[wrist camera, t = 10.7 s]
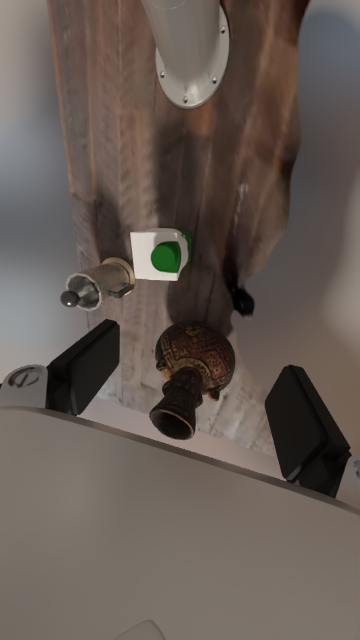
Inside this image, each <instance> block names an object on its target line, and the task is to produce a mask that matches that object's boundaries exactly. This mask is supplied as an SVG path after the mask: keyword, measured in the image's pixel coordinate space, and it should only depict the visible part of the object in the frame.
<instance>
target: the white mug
mask: <svg viewBox="0 0 360 640" xmlns="http://www.w3.org/2000/svg"><path fill="white" fill-rule="evenodd" d="M92 286H96V287H97V289H95V290H93V291H91V292H89V293H87V294H85V295H83V296H81V297H80V302H79V304H78V305H77V306H78V307H79V308H80V309H83V310H87V311H91V310H95V309H98V308H99V307H101V306H102V305H104V304H105V303H107V302H108V301H110V300H112V299H113V298H115V297H116V298H121V297H122V296H124V295H125V294H127V293H128V292H129V291H131V290H132V289H134V284H130V275H129V272H128V271H127V269H126V268H125V267H124V266H123V265H121V264H119V263H116V262H112V263H107V264H104V265H101V266H97V267H94V268H91V269H87V270H84V271H81V272H77V273H75V274H73V275H71V276H69V277H68V280H67V282H66V291H67V290H72V291H75V292H77V293H79V292H81V291H83V290H86V289H88V288H90V287H92Z"/></svg>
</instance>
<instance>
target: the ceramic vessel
mask: <svg viewBox="0 0 360 640" xmlns="http://www.w3.org/2000/svg"><path fill="white" fill-rule="evenodd" d="M155 358H156V363H157V364H156V368H157V370H158V371H161V373H162V374H163V376H164V377H165V378H166V379H167V380H168V381H167V382H166V383H165V384H164V385H163V387H162V391H163V394H164V395H165V397H164V398H163V399H162V400H161V401H160V402H159V403H158V404H157V405H156V406H155V407H154V408H153V409H152V410H151V412H150V414H149V417H150V419H151V421H152V423H153V424H154V426H155V427H156V428H157V429H158V430H159V431H160V432H161V433H162V434H164V435H166V436H167V437H170V438H173V439H177V440H187V439H190V438H191V437H192V436H193V435H194V433H195V426H196V418H195V409H196V408H197V407H199V406H200V405H201V404H202V403H203V399H202V395H208V396H209V398H210V399H212V400H213V401H218V400H219V395H220V391H221V390H222V389H224V388H225V387H226V386H227V385H228V384H229V383H230V381H231V379H232V376H233V373H234V369H235V354H234V350H233V348H232V345H231V343H230V342H229V340H228V339H227V338H226V337H225V336H224V335H223V334H222V333H221V332H220V331H219V330H217V329H216V328H214V327H212V326H210V325H208V324H206V323H203V322H198V321H182V322H179V323H176V324H174V325H172V326H170V327H169V328H167V329H166V330H165V331H164V332H163V333H162V335H161V336H160V338H159V340H158V342H157V344H156V349H155Z"/></svg>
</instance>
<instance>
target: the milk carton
mask: <svg viewBox="0 0 360 640" xmlns="http://www.w3.org/2000/svg"><path fill="white" fill-rule="evenodd" d="M130 234H131V244H132V253H133V263H134V272H135V278H140V279H148V280H173V281H177V280H178V277H179V275H180V272H181V270H182V268H183V267H184V266H186V265H187V264H189V263H190V259H191V233H190V232H187V231H184V230H181V229H173V228H150V229H148V230H143V231H137V232H130Z"/></svg>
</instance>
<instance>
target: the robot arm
mask: <svg viewBox="0 0 360 640" xmlns="http://www.w3.org/2000/svg"><path fill="white" fill-rule="evenodd" d="M141 2H142V5H143V7H144V10H145V13H146V16H147V19H148V22H149V25H150V28H151V31H152V33H153V36H154V39H155V42H156V68H157V74H158V78H159V81H160V84H161V87H162V89H163V91H164V93H165V95H166V96H167V97H168V99H169V100H170V101H171V102H172V103H173V104H175V105H176V106H178V107H180V108H185V109H192V108H196V107H199V106H201V105H202V104H204V103H205V102H206V101H208V100H209V99H210V98H211V97H212V95H213V94H214V93H215V91H216V90H217V88H218V87H219V85H220V83H221V81H222V78H223V76H224V73H225V70H226V66H227V62H228V55H229V29H228V24H227V19H226V16H225V14H224V11H223V9H222V7H221V6H220V4H219V0H141ZM222 33H224V34H222ZM163 77H164V78H163ZM214 82H216V84H214ZM186 101H187V103H185V102H186ZM119 353H120V326H119V324H117V322H116V321H113V320H109V319H106V320H104V321H103V322H102V323H100V324H99V325H98V326H96V327H95V328H94V329H93V330H91V331H90V332H89V333H88V334H86V335H85V336H84V337H82V338H81V339H80V340H79V341H77V342H76V343H75V344H73V345H72V346H71V347H70V348H68V349H67V350H66V351H65V352H63V353H62V354H61V355H59V356H58V357H57V358H56V359H54V360H53V361H52V362H51V363H50V364H49V365H48V366H47V367H44V366H42V365H27V366H24V367H20V368H18V369H16V370H14V371H12V372H11V373H9V374H8V375H7V376H6V377H5V379H4V381H3V383H2V384H0V640H360V456H352V455H351V453H350V452H349V449H350V446H349V444H348V443H347V441H346V439H345V438H344V436H343V434H342V432H341V431H340V429H339V427H338V426H337V424H336V422H335V421H334V419H333V417H332V416H331V414H330V412H329V411H328V409H327V407H326V406H325V404H324V402H323V401H322V399H321V397H320V396H319V394H318V392H317V391H316V389H315V387H314V386H313V384H312V382H311V381H310V379H309V377H308V375H307V374H306V372H305V371H304V369H303V368H302V367H298V366H294V365H289V366H285V367H284V368H283V370H282V372H281V373H280V375H279V377H278V379H277V380H276V382H275V384H274V386H273V388H272V390H271V391H270V393H269V395H268V396H267V398H266V400H265V409H266V413H267V417H268V421H269V425H270V429H271V433H272V437H273V441H274V445H275V449H276V453H277V457H278V461H279V465H280V469H281V473H282V476H283V477H284V478H285V479H286V480H287V482H286V481H283V480H280V479H277V478H274V477H271V476H268V475H265V474H261V473H258V472H255V471H252V470H249V469H246V468H242V467H239V466H236V465H233V464H230V463H227V462H223V461H220V460H217V459H214V458H211V457H208V456H204V455H201V454H198V453H195V452H191V451H188V450H185V449H182V448H179V447H175V446H172V445H169V444H165V443H162V442H159V441H156V440H153V439H150V438H146V437H143V436H140V435H136V434H133V433H130V432H126V431H123V430H120V429H117V428H113V427H110V426H107V425H104V424H100V423H97V422H94V421H90V420H87V419H83V418H79V417H76V416H77V415H80V414H81V413H82V412H83V411H84V410H85V408H86V407H87V406H88V404H89V403H90V402H91V400H92V399H93V398H94V396H95V395H96V394H97V392H98V391H99V390H100V388H101V387H102V386H103V385H104V383H105V382H106V381H107V379H108V378H109V377H110V375H111V374H112V373H113V371H114V370H115V369H116V367H117V366H118V364H119Z"/></svg>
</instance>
